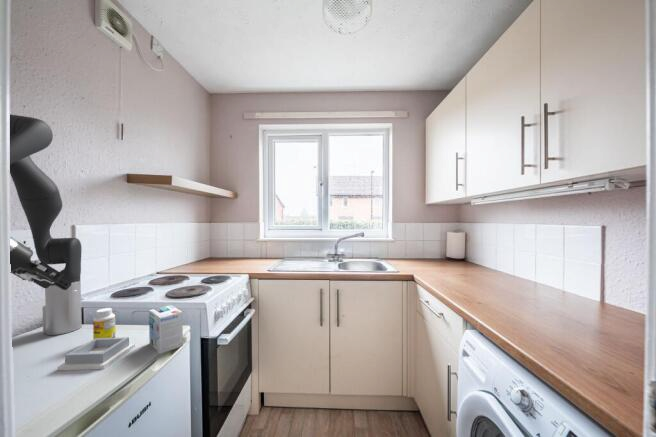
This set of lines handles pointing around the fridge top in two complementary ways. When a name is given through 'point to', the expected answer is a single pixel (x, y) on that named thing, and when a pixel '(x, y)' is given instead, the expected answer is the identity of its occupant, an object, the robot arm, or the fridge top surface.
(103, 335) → the supplement bottle
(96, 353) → the grey tray
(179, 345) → the light bulb box
